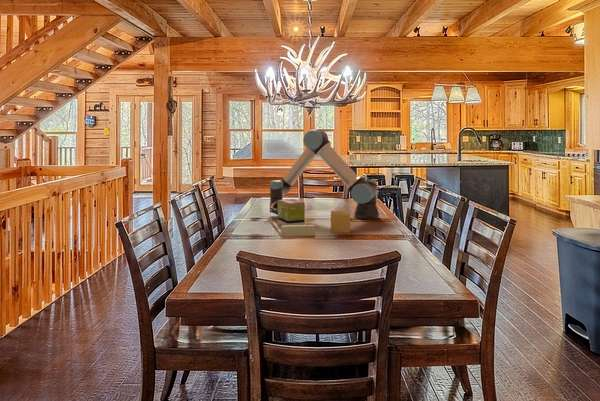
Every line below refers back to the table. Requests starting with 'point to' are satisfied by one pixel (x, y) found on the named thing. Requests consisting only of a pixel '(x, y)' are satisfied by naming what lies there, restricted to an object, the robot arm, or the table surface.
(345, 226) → the cheese
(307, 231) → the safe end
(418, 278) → the table surface
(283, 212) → the tea box
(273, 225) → the track rails
